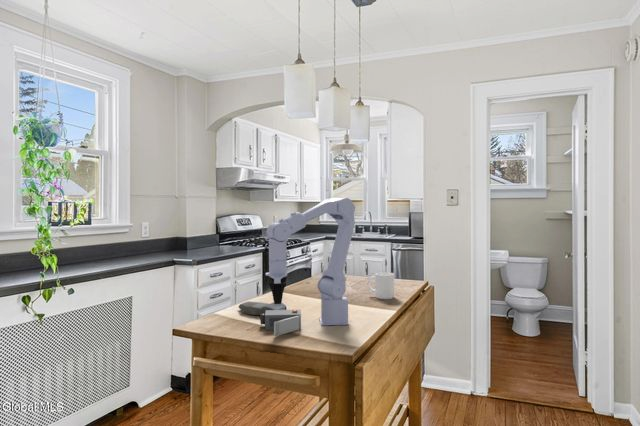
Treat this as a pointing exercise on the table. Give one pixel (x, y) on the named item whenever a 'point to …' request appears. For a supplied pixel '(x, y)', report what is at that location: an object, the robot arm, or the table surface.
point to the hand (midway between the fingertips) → (278, 300)
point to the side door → (287, 325)
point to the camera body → (276, 317)
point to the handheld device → (260, 307)
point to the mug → (382, 285)
